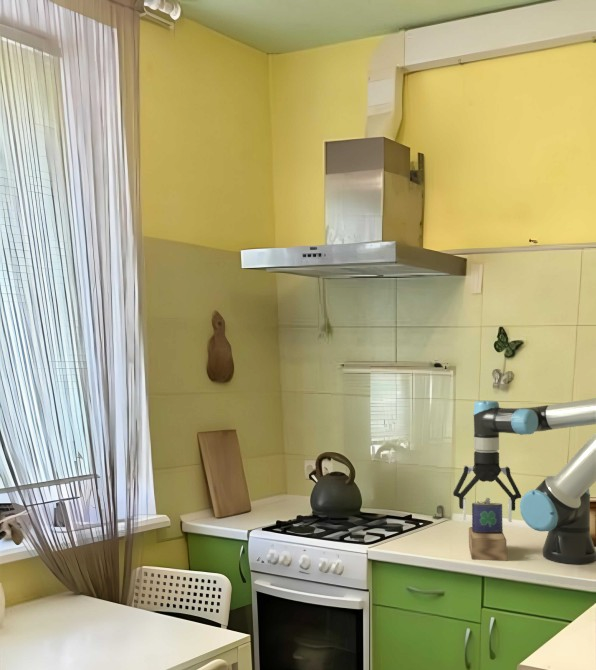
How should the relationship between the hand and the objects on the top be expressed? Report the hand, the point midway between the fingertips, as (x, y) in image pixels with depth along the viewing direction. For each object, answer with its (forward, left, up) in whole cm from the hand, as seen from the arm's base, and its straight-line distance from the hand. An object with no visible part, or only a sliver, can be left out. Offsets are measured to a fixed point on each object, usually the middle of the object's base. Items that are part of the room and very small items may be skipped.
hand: (487, 520), depth 231 cm
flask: (0, 0, -4) cm, 4 cm away
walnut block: (0, 0, -10) cm, 10 cm away
